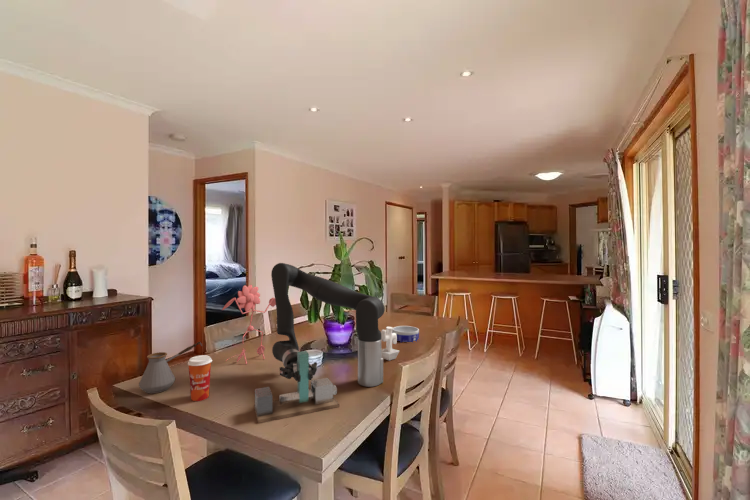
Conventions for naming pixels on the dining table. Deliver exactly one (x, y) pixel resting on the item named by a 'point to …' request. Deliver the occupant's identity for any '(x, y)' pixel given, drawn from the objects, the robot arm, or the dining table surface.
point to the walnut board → (295, 409)
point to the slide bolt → (301, 383)
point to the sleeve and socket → (320, 385)
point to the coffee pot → (159, 372)
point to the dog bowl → (406, 333)
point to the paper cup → (199, 377)
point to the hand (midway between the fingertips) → (305, 378)
